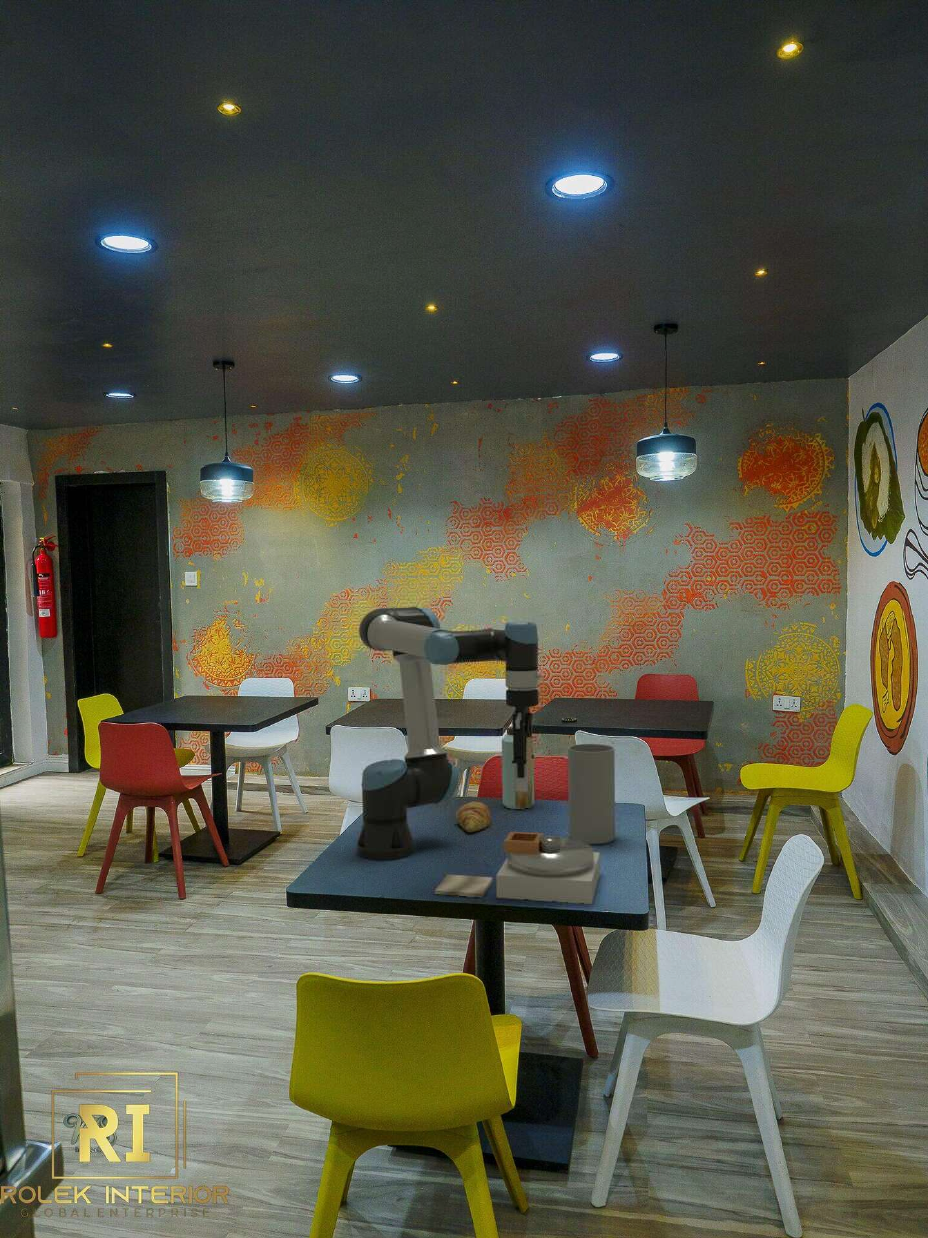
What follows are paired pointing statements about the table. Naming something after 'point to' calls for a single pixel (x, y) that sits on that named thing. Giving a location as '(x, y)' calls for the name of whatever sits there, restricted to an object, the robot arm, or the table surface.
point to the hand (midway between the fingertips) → (523, 788)
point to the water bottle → (511, 771)
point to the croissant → (473, 816)
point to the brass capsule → (526, 797)
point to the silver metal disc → (547, 854)
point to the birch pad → (464, 885)
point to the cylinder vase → (591, 793)
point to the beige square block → (549, 885)
